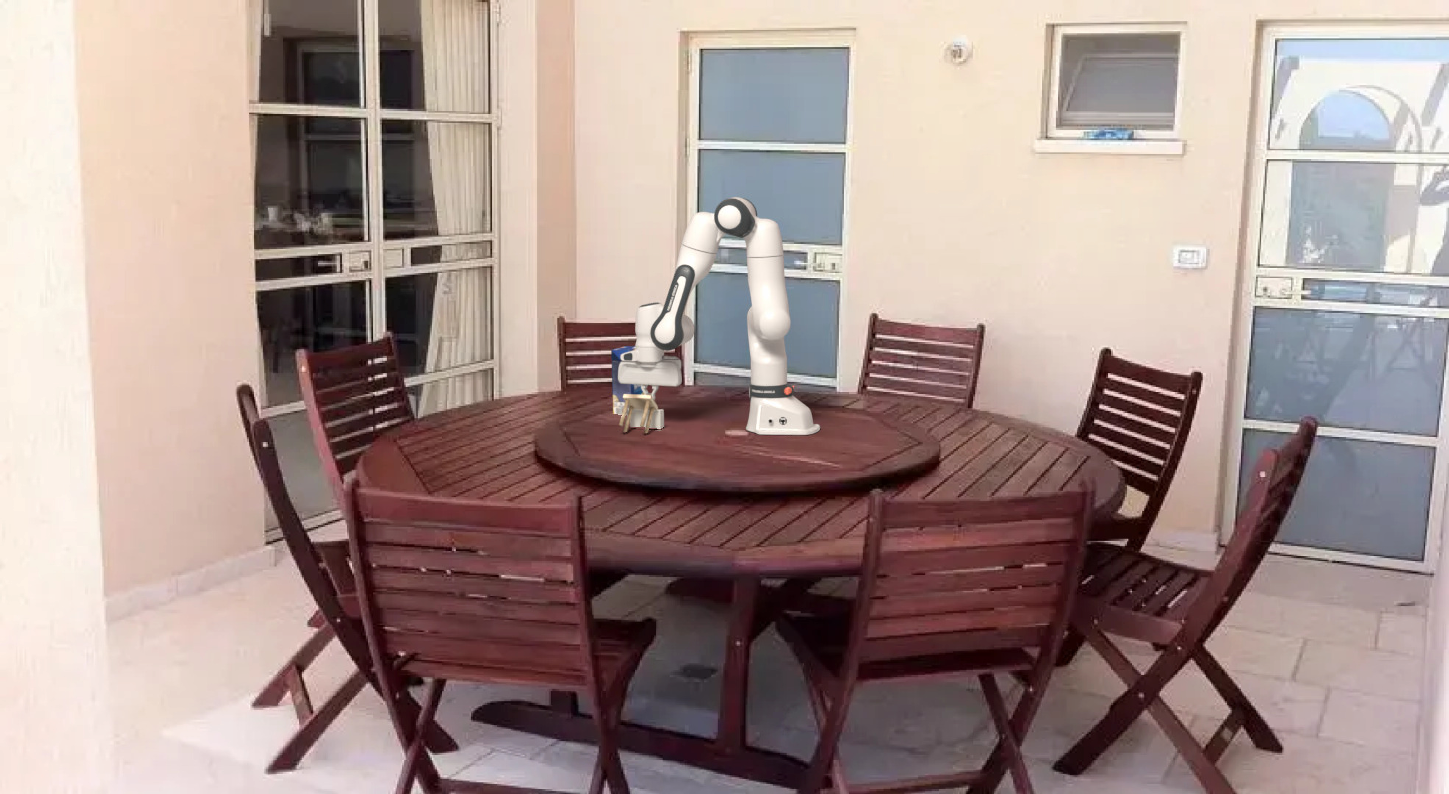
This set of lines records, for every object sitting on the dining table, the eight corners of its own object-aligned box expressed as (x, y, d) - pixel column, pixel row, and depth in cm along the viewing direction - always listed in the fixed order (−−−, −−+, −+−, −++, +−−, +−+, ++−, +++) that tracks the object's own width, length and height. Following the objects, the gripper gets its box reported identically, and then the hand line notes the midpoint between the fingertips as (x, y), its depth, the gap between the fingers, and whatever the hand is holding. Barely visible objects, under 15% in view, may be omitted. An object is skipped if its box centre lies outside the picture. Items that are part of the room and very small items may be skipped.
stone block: (664, 428, 417) (663, 409, 416) (660, 430, 414) (660, 411, 413) (634, 427, 420) (633, 408, 419) (630, 428, 417) (629, 409, 416)
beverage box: (645, 412, 447) (644, 346, 443) (632, 418, 436) (630, 350, 433) (626, 411, 449) (625, 346, 445) (613, 417, 439) (611, 350, 435)
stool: (650, 435, 408) (658, 406, 413) (643, 424, 402) (651, 395, 407) (623, 434, 411) (630, 405, 416) (615, 422, 405) (623, 394, 410)
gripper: (684, 355, 417) (684, 399, 419) (623, 352, 424) (623, 396, 426) (677, 357, 411) (677, 402, 413) (615, 354, 418) (616, 399, 420)
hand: (649, 399), depth 420 cm, fingers closed
